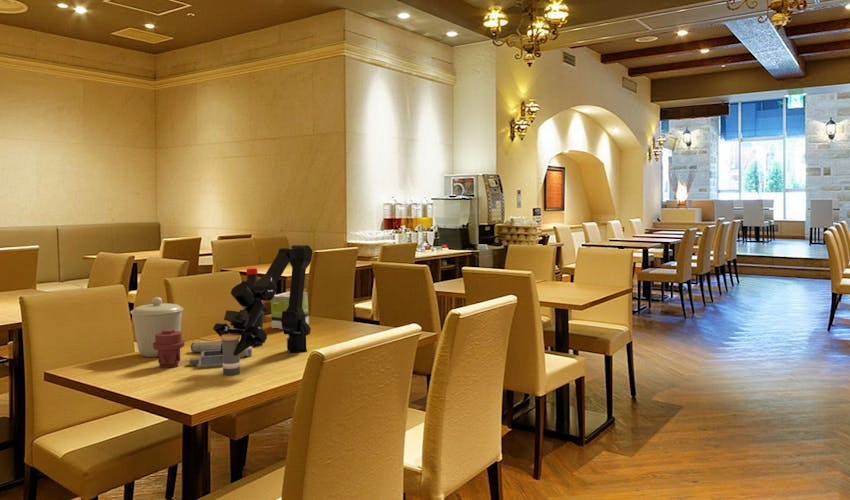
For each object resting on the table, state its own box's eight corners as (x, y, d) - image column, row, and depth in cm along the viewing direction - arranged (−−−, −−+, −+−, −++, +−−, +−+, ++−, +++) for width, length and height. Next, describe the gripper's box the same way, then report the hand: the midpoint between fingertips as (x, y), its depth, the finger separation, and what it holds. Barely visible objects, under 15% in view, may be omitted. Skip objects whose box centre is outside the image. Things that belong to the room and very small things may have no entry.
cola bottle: (238, 346, 256) (235, 268, 254) (251, 341, 264) (249, 266, 261) (256, 347, 253) (254, 269, 250) (269, 343, 260) (267, 267, 258)
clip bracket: (230, 358, 236) (230, 349, 235) (231, 365, 226) (230, 355, 226) (190, 361, 232) (190, 351, 231) (189, 368, 222) (188, 358, 222)
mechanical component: (167, 361, 232) (191, 363, 229) (147, 368, 223) (171, 370, 220) (166, 326, 231) (190, 328, 228) (145, 332, 222) (170, 333, 219)
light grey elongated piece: (198, 340, 250) (253, 335, 241) (200, 357, 250) (256, 353, 241) (188, 343, 245) (245, 338, 236) (191, 360, 245) (247, 356, 236)
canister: (173, 346, 256) (171, 292, 255) (193, 354, 243) (191, 297, 241) (124, 354, 244) (122, 297, 242) (142, 362, 231) (140, 302, 229)
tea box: (290, 322, 304) (290, 290, 303) (309, 324, 300) (308, 291, 299) (270, 328, 291) (270, 295, 290) (290, 330, 287) (289, 296, 286)
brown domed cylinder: (240, 370, 219) (239, 332, 218) (240, 374, 214) (239, 336, 213) (222, 372, 217) (221, 334, 216) (222, 376, 212) (221, 337, 211)
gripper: (216, 298, 221) (192, 337, 212) (260, 302, 213) (237, 342, 204) (233, 318, 229) (211, 356, 220) (276, 322, 221) (255, 362, 212)
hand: (227, 354), depth 214 cm, fingers closed on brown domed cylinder, 5 cm apart
